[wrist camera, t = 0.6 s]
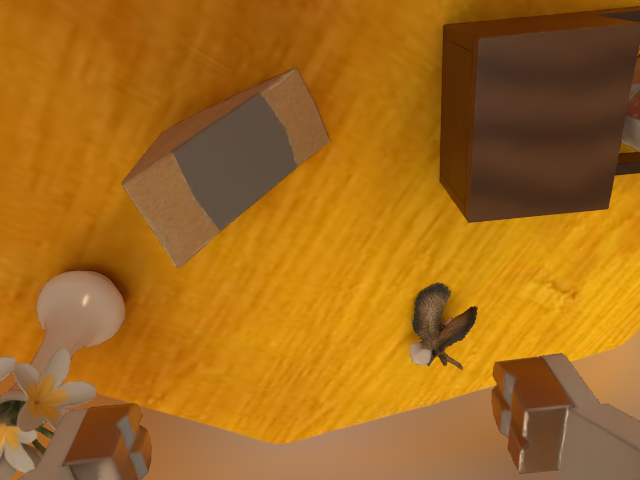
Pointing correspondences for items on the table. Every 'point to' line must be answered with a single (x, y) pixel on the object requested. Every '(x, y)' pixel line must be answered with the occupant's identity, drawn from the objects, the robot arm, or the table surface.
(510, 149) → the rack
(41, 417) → the flower vase
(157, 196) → the sandwich container
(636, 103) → the small box
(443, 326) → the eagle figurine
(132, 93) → the table surface
